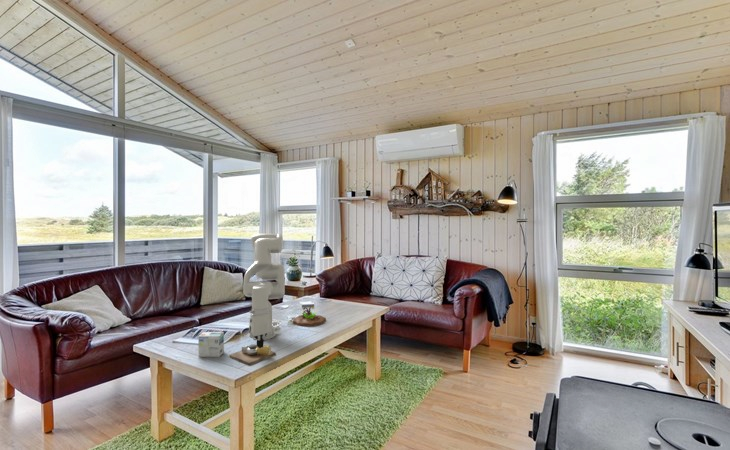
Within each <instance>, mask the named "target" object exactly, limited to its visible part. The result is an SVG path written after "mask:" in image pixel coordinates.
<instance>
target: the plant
mask: <svg viewBox="0 0 730 450" xmlns="http://www.w3.org/2000/svg"><path fill="white" fill-rule="evenodd" d="M308 308H309V309H308ZM311 309H315V306H314V305H310V306H309V307H305V306H304V307H303V308H302V310H303V311H302V312H301V314H300V315H298V316H296V317H294V318H293V319H292V324H293V325H296V326H299V327H307V328H311V327H318V326H321V325H323V324H324V323H325V322H326V321H327V318H326V317H324V316H323V315H318V314H317V312H313V311H311Z"/></svg>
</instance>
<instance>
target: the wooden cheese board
mask: <svg viewBox="0 0 730 450" xmlns="http://www.w3.org/2000/svg"><path fill="white" fill-rule="evenodd" d="M248 346H249V348H256V347H257V343H255V344H249V345H248ZM276 353H277V352H276V351H273V350H271V354H270V355H260V354H256V355H247V354H246V353H242V349H241V350H238V351H236V352H235V351H234V352H233V353H230V354H229V358H231V359H234V360H236V361H238V362H240V363H242V362H243V364H245V365H247V366H251V364H252V365H253V364H256V363H259V362H261V361H265V360H267V359H269V358H271V357H274V356H276Z"/></svg>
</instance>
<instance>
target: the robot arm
mask: <svg viewBox="0 0 730 450" xmlns="http://www.w3.org/2000/svg"><path fill="white" fill-rule="evenodd" d="M250 242H251V245H252V248H253V250H254V251H253V264H251V266H249V268H248V269H247V270H246V272H245V273H244V276H243V283H242V285H243V286H242V292H243V296H245V297H248V298H250V297H251V310H249V314H250V318H249V322H248V323H249V324H248V333H249V338H250V339H253V340H256V345H257V347H259V348H261V347H263V345H265V343H264V342H265V341H267V340H270V339H273V338H274V337H275V336H276V335H275V331H277V330H279V326H273V307H272V306H273V305H272V303H271V302H270V301H269V300H276V299H277V300H279V299H282V298H284V296H285V293H286V291H285V288H286V286H285V285H286V283H285V279H286V277H285V267H284V265H283V264H282V263H277V262H276V263H272V254H279V253H281V252H282V251H283V243H284V239H283V236H282V234H281V233H273V232H272V233H270V232H269V233H267V232H266V233H264V232H261V233H255V234H253V235H251V241H250ZM255 274H256V278H257V279H258V280H259V281H256V280H255V281H250V280H251V278H252V277H253V276H254V275H255ZM273 280H274V281H273ZM272 281H273V282H272Z"/></svg>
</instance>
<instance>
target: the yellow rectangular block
mask: <svg viewBox="0 0 730 450" xmlns="http://www.w3.org/2000/svg"><path fill="white" fill-rule="evenodd" d="M241 350H242V353H246V354H247V355H256V354H260V355H270V354H271V351H272V350H271V345H265V344H264V345H263V347H261V348H259V347H256V348H249V345H246V344H245V345H242V346H241Z"/></svg>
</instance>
